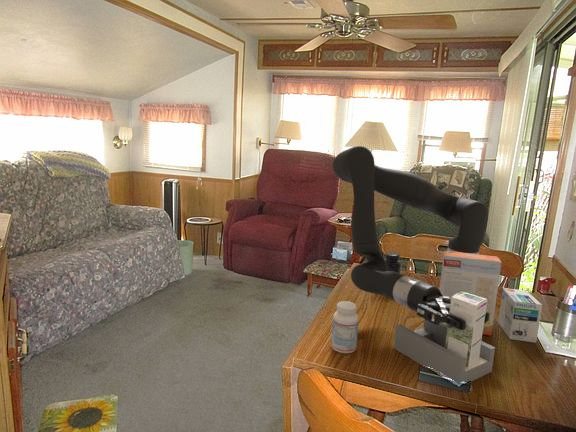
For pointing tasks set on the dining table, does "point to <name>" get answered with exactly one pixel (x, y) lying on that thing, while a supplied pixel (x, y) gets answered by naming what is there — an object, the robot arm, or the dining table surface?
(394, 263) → the supplement bottle
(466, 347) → the syrup box
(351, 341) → the pill bottle
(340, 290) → the dining table surface
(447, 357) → the trap lane
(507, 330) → the light bulb box
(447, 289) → the cracker box
